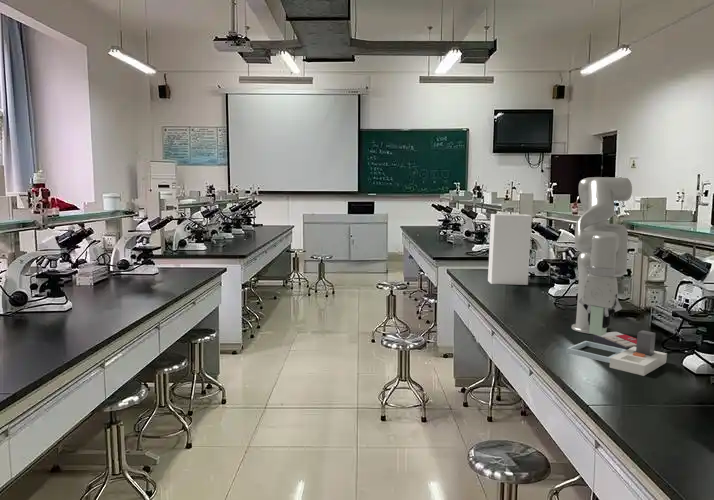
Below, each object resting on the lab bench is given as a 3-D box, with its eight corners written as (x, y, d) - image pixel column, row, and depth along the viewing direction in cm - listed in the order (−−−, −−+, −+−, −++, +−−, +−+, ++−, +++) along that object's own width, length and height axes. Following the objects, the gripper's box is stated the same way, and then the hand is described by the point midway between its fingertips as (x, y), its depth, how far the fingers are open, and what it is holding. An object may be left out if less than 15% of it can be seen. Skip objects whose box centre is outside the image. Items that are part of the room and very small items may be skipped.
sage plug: (594, 331, 189) (596, 303, 187) (606, 333, 186) (608, 305, 185) (589, 333, 186) (591, 305, 185) (601, 336, 183) (603, 307, 182)
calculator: (627, 345, 188) (593, 332, 201) (625, 357, 188) (592, 343, 202) (651, 342, 192) (616, 329, 206) (649, 354, 193) (615, 341, 206)
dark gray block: (640, 358, 181) (642, 330, 180) (653, 361, 178) (655, 332, 177) (635, 361, 178) (637, 332, 177) (648, 364, 175) (651, 335, 174)
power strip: (633, 358, 185) (634, 344, 184) (665, 365, 178) (667, 351, 177) (609, 370, 172) (610, 355, 171) (643, 379, 165) (644, 363, 164)
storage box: (523, 281, 331) (526, 214, 327) (527, 284, 321) (531, 215, 316) (487, 280, 332) (490, 213, 327) (491, 284, 322) (494, 214, 317)
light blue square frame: (585, 347, 196) (585, 340, 196) (626, 357, 186) (626, 349, 186) (566, 355, 186) (566, 348, 186) (608, 365, 176) (609, 358, 176)
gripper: (572, 269, 186) (568, 322, 189) (623, 276, 174) (619, 333, 177) (582, 267, 192) (579, 318, 194) (633, 274, 180) (628, 329, 182)
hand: (598, 325), depth 186 cm, fingers closed on sage plug, 4 cm apart
